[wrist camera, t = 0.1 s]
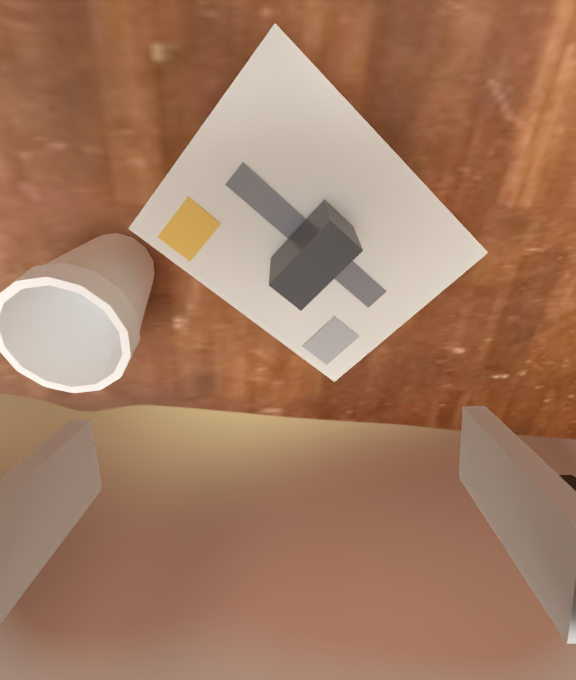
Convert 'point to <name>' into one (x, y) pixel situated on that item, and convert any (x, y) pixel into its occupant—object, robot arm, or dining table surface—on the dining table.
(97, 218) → the dining table surface
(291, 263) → the knob
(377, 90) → the dining table surface
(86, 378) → the foam cup
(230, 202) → the switch panel
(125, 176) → the dining table surface
